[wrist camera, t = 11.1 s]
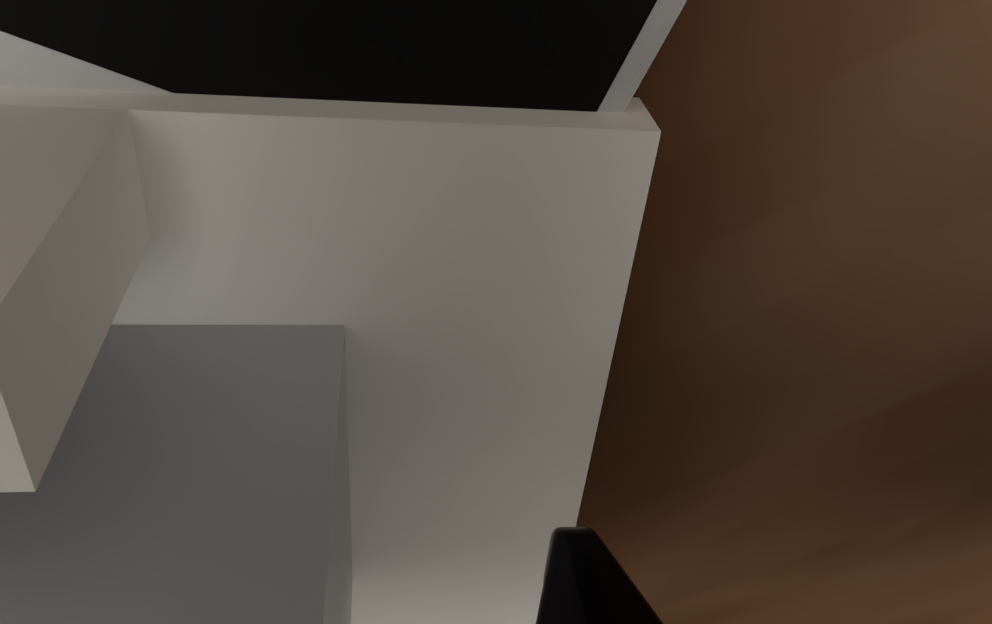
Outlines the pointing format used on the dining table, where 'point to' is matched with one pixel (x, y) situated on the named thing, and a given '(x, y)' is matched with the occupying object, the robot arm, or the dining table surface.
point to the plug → (192, 485)
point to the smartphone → (343, 49)
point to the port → (346, 298)
